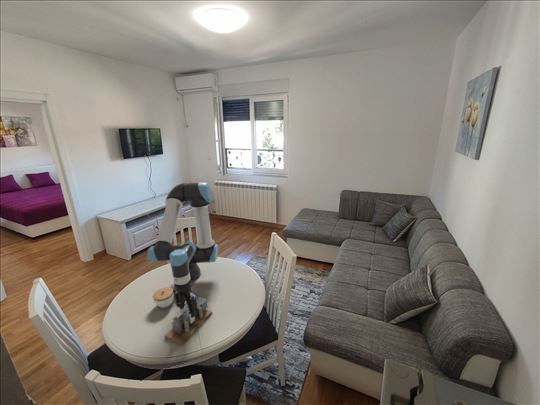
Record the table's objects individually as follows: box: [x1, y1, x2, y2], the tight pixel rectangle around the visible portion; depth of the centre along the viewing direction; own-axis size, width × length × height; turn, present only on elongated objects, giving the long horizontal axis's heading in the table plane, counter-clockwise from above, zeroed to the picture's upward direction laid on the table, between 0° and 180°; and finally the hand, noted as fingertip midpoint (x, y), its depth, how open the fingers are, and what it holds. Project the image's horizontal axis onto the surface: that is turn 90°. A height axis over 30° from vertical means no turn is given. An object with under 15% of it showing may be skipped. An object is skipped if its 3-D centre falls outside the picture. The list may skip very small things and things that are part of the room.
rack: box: [164, 307, 213, 347], centre depth 122 cm, size 22×11×8 cm, turn 155°
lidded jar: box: [152, 286, 175, 309], centre depth 137 cm, size 11×11×9 cm
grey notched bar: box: [171, 297, 209, 334], centre depth 123 cm, size 20×5×5 cm, turn 155°
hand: (188, 319), depth 122 cm, fingers closed on grey notched bar, 4 cm apart
